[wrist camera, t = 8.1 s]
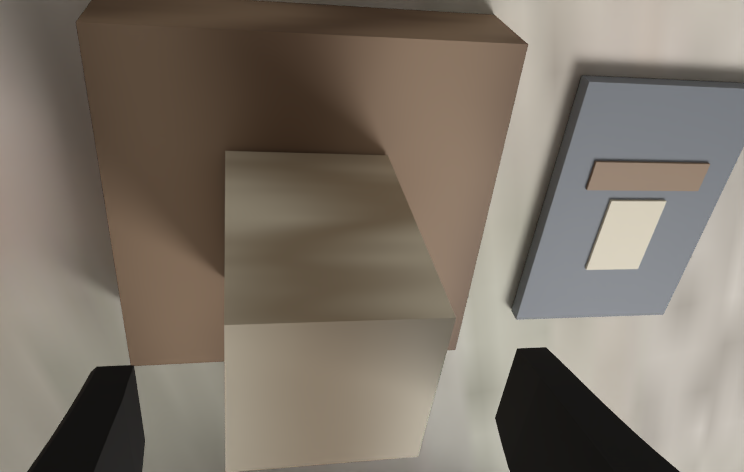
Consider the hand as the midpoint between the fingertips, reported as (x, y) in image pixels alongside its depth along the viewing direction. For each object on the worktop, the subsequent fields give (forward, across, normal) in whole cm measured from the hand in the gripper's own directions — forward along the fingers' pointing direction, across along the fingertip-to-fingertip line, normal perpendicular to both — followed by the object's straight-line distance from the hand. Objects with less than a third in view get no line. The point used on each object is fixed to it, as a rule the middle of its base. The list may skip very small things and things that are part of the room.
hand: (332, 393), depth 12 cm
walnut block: (+9, 0, 0) cm, 9 cm away
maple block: (+6, 0, 0) cm, 6 cm away
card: (+8, -11, +1) cm, 14 cm away
